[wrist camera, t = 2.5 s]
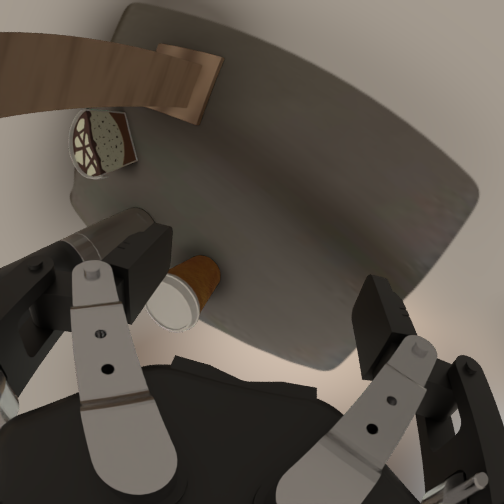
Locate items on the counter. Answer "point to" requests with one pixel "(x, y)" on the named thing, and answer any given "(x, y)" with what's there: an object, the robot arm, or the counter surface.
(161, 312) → the disposable coffee cup
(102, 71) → the walnut stand
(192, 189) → the counter surface
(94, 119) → the food container
